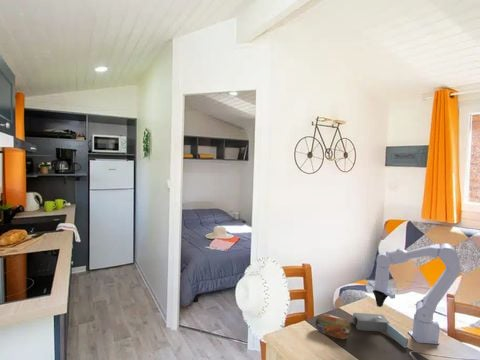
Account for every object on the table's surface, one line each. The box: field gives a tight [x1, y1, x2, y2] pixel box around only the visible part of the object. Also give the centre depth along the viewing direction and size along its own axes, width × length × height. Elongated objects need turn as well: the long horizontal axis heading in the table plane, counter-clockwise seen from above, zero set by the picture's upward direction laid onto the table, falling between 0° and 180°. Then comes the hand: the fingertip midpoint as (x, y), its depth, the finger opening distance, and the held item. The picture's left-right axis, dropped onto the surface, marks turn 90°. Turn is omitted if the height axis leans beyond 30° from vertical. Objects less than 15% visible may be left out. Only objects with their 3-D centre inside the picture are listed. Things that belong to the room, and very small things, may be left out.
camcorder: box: [351, 312, 391, 333], centre depth 136 cm, size 15×7×5 cm, turn 88°
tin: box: [315, 313, 352, 340], centre depth 128 cm, size 15×3×8 cm, turn 62°
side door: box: [385, 322, 409, 349], centre depth 127 cm, size 11×1×4 cm, turn 12°
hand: (379, 306), depth 138 cm, fingers closed
